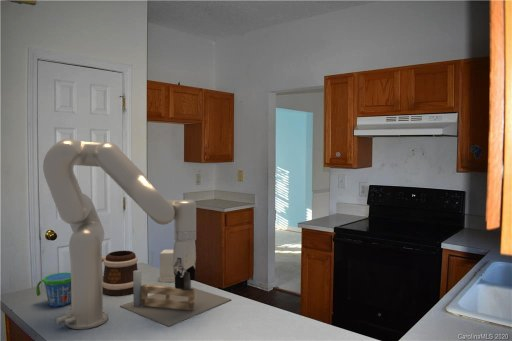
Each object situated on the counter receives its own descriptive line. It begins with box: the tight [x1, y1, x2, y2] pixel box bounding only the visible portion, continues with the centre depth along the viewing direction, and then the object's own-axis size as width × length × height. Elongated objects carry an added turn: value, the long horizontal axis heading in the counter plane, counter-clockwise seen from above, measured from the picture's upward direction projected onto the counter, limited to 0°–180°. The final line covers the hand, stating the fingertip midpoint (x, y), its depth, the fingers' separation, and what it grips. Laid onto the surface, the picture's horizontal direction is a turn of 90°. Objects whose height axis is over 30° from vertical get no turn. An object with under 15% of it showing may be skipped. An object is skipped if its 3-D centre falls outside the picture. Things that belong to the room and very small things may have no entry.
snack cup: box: [35, 271, 71, 308], centre depth 148 cm, size 16×11×10 cm
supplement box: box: [159, 249, 181, 283], centre depth 176 cm, size 7×7×13 cm
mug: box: [102, 250, 139, 296], centre depth 163 cm, size 20×15×15 cm
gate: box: [141, 272, 195, 310], centre depth 142 cm, size 20×3×13 cm, turn 77°
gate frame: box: [133, 269, 192, 307], centre depth 154 cm, size 26×3×13 cm, turn 142°
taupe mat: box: [119, 286, 232, 328], centre depth 148 cm, size 30×27×1 cm
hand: (185, 284), depth 140 cm, fingers open, 9 cm apart
